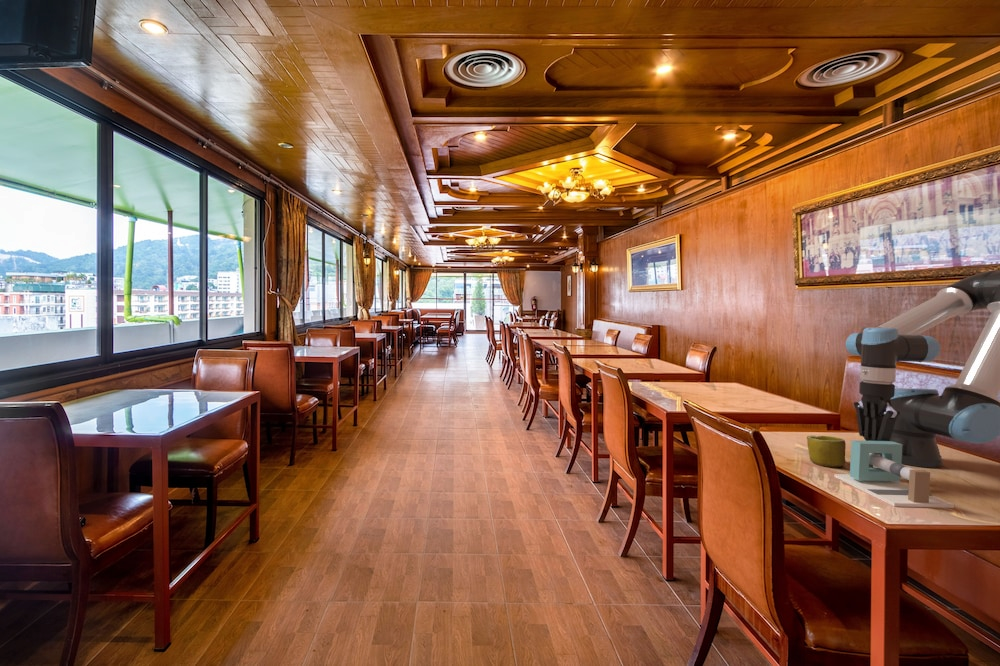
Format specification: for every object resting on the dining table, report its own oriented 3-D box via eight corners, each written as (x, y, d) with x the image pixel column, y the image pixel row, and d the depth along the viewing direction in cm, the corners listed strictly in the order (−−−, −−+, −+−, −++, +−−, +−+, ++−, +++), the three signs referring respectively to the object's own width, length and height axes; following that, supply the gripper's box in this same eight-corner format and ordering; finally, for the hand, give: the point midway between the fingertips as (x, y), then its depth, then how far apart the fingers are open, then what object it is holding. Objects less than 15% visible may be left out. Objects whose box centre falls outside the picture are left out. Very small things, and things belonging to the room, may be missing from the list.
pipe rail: (834, 476, 122) (835, 448, 122) (884, 478, 122) (886, 449, 121) (894, 506, 103) (896, 472, 103) (954, 507, 103) (956, 474, 102)
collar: (849, 476, 118) (851, 440, 118) (890, 477, 118) (892, 441, 118) (858, 480, 115) (860, 443, 115) (900, 481, 115) (902, 444, 115)
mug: (861, 465, 126) (846, 431, 128) (823, 473, 128) (809, 439, 130) (840, 460, 138) (827, 429, 140) (805, 467, 140) (793, 436, 142)
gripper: (845, 378, 128) (841, 456, 129) (883, 385, 115) (878, 472, 116) (871, 379, 128) (867, 457, 129) (912, 386, 115) (906, 473, 116)
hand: (872, 464), depth 122 cm, fingers closed
